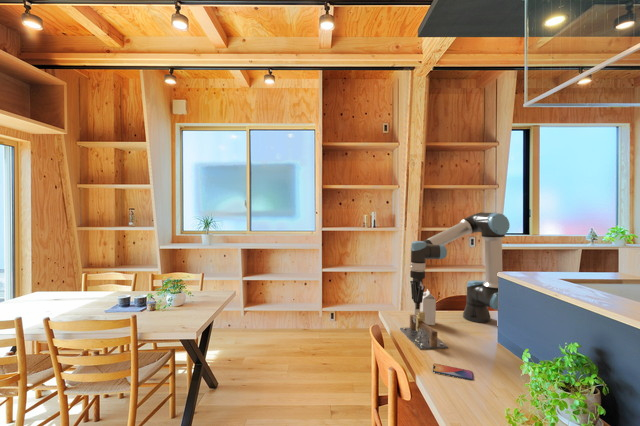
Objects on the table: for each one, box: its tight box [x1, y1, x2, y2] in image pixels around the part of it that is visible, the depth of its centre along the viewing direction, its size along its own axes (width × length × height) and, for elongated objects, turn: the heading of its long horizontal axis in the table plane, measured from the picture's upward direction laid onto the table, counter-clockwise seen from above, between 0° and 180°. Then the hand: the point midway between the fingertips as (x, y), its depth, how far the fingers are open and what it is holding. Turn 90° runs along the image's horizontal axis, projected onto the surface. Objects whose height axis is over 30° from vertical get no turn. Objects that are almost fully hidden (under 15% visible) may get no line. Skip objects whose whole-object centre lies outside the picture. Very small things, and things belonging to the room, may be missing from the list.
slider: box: [416, 312, 425, 334], centre depth 170 cm, size 4×2×11 cm, turn 98°
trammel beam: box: [409, 314, 438, 347], centre depth 168 cm, size 3×25×7 cm, turn 8°
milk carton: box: [420, 288, 437, 326], centre depth 191 cm, size 7×7×19 cm
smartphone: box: [432, 363, 474, 381], centre depth 134 cm, size 7×15×1 cm, turn 68°
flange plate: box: [399, 326, 449, 350], centre depth 169 cm, size 14×25×2 cm, turn 8°
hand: (416, 314), depth 176 cm, fingers closed
